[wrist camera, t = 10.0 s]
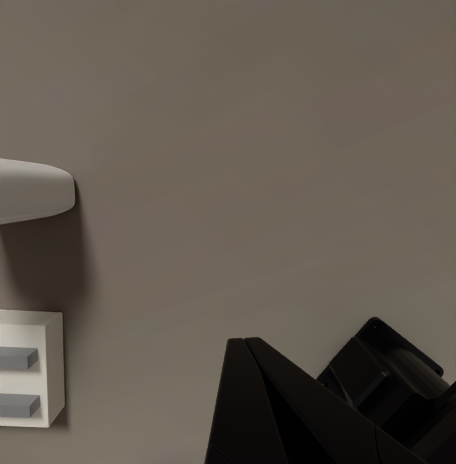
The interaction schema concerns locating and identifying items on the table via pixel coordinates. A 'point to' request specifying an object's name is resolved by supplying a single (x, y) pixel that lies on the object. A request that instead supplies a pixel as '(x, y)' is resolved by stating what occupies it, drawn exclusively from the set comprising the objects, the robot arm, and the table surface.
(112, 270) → the table surface
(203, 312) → the table surface
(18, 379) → the white base with rails
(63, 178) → the eye dropper bottle
